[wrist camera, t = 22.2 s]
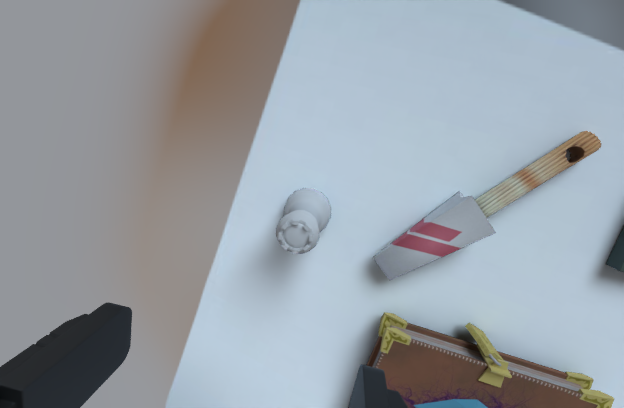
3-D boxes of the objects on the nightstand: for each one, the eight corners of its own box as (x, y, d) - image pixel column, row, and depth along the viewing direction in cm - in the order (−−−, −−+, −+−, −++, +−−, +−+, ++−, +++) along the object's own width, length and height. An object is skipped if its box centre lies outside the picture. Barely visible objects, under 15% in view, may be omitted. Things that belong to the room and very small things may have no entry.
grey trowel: (371, 258, 27) (594, 120, 24) (367, 247, 30) (568, 121, 26) (395, 292, 28) (617, 162, 24) (390, 279, 30) (589, 159, 27)
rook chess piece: (340, 217, 30) (338, 248, 22) (301, 239, 31) (286, 276, 23) (315, 177, 29) (305, 195, 21) (276, 201, 30) (253, 226, 22)
